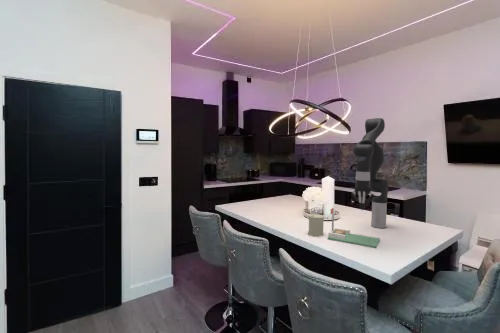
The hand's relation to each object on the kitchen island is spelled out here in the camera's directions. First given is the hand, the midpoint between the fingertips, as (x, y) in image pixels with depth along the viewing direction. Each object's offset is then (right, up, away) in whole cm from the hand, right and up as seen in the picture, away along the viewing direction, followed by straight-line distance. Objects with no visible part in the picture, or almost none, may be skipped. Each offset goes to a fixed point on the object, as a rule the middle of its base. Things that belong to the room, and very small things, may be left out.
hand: (361, 209), depth 153 cm
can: (-23, -18, +13) cm, 32 cm away
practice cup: (-10, -17, +7) cm, 21 cm away
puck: (-10, -17, +7) cm, 21 cm away
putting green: (-4, -18, +3) cm, 19 cm away
